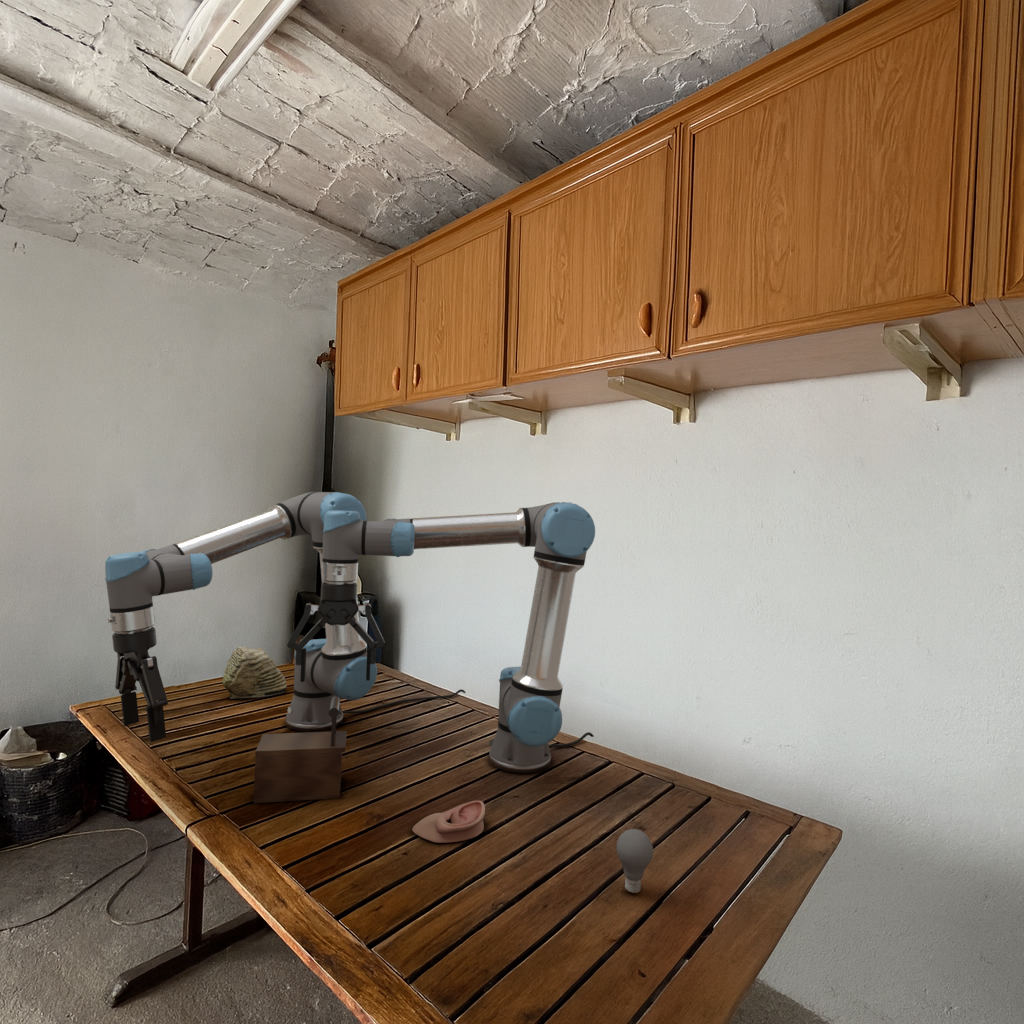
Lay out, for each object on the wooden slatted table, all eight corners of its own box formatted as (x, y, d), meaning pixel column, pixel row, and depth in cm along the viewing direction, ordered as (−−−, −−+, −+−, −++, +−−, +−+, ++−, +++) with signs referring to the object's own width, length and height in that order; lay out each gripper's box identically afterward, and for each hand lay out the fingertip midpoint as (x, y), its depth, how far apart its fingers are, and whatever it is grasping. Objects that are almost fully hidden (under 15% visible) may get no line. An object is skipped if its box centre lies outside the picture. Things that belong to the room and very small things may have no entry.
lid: (346, 735, 143) (347, 694, 143) (344, 752, 134) (346, 708, 133) (262, 739, 139) (264, 696, 139) (255, 756, 130) (257, 711, 129)
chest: (341, 778, 143) (343, 736, 143) (339, 798, 134) (341, 753, 133) (261, 782, 139) (262, 739, 139) (253, 803, 130) (255, 756, 130)
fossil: (218, 695, 195) (220, 647, 195) (278, 685, 208) (279, 640, 207) (228, 703, 189) (230, 653, 188) (289, 692, 201) (290, 645, 201)
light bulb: (610, 879, 108) (613, 822, 108) (644, 879, 109) (647, 822, 109) (619, 902, 102) (622, 840, 102) (655, 901, 103) (658, 840, 103)
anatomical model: (406, 817, 119) (427, 790, 130) (406, 838, 119) (426, 809, 130) (475, 827, 116) (490, 799, 127) (474, 849, 116) (489, 818, 127)
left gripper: (91, 626, 133) (101, 723, 134) (137, 643, 117) (149, 754, 119) (130, 617, 138) (140, 711, 140) (179, 633, 123) (190, 739, 124)
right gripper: (276, 583, 130) (272, 685, 131) (398, 585, 136) (394, 683, 136) (280, 578, 138) (277, 675, 138) (397, 580, 143) (393, 673, 144)
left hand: (144, 731), depth 129 cm, fingers open, 13 cm apart
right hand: (335, 679), depth 137 cm, fingers open, 13 cm apart
